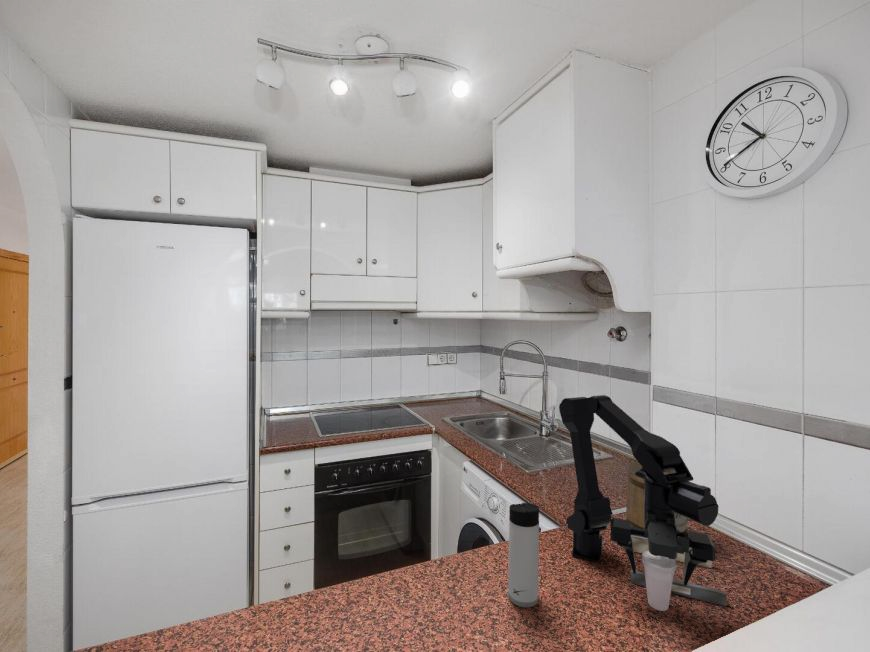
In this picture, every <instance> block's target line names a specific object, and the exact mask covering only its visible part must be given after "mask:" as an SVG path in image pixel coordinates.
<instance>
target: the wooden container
mask: <svg viewBox="0 0 870 652" xmlns="http://www.w3.org/2000/svg"><path fill="white" fill-rule="evenodd" d="M641 469H642V466H641V465H640V464H639V462H638V461H634V462H630V463H629V464H628V467H627V489H626V507H625V508H626V509H625V511H626V515H625V517H626V518H625V520H629V521H630V526H631V527H635V528H640V529H644V479H643V478H640V477H638V476H636V475H635V473H636V472H637V471H639V470H641ZM663 473H664V475H666V474H671V473H677V472H676V471H675V470H672V471H667V472H663ZM675 526H676V529H677V530H678V531H680V532H683V533H688V518H687V517H685V516H682V515H680V514H678V513H676V512H675Z"/></svg>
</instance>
